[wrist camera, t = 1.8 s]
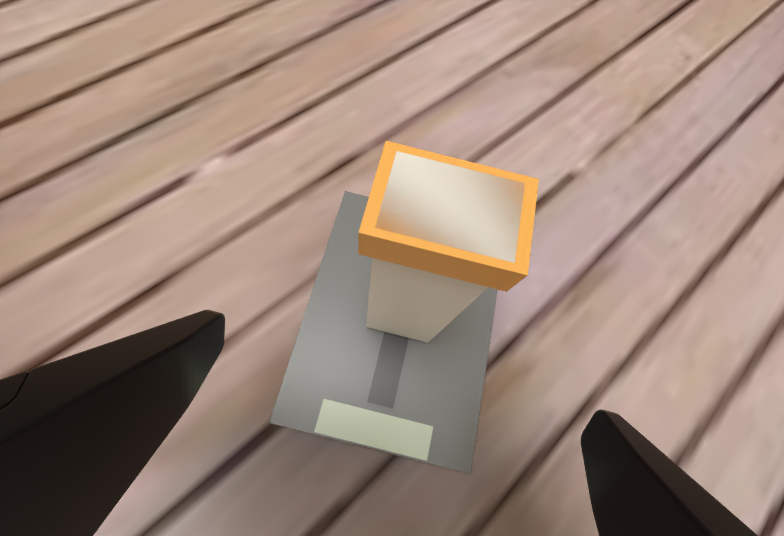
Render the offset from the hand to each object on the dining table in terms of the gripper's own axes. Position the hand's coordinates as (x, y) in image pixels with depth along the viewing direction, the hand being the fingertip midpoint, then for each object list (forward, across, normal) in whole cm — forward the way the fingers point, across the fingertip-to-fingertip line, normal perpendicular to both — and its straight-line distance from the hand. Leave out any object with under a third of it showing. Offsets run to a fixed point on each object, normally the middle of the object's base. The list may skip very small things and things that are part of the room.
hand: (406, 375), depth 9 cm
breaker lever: (+9, 0, +4) cm, 9 cm away
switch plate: (+10, 0, +5) cm, 12 cm away
